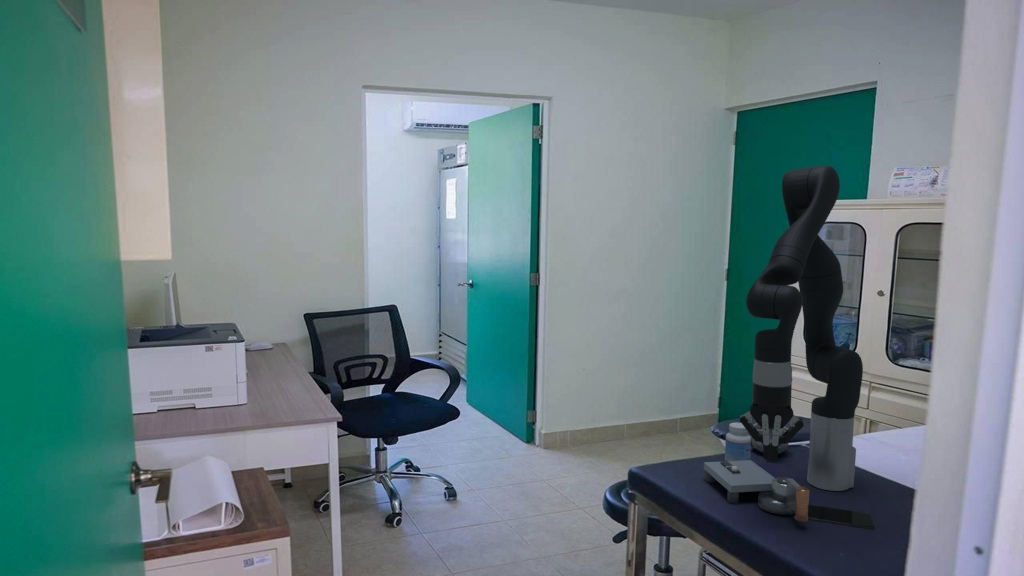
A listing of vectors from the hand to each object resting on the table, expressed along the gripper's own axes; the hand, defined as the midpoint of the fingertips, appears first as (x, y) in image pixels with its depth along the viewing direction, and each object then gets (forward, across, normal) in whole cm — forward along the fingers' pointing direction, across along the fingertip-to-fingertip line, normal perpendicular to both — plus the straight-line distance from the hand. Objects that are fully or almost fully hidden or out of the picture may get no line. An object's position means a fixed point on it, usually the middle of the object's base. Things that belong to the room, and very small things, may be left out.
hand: (770, 461), depth 141 cm
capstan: (+12, -3, -2) cm, 13 cm away
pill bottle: (+13, +7, -26) cm, 30 cm away
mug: (+13, -2, -40) cm, 42 cm away
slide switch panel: (+12, +6, -13) cm, 19 cm away
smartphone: (+13, -13, -5) cm, 19 cm away
